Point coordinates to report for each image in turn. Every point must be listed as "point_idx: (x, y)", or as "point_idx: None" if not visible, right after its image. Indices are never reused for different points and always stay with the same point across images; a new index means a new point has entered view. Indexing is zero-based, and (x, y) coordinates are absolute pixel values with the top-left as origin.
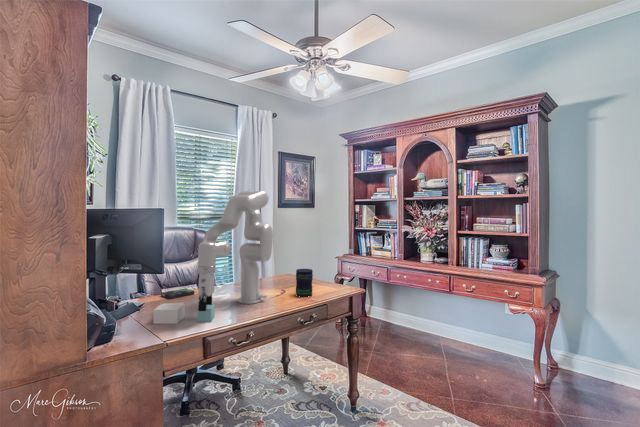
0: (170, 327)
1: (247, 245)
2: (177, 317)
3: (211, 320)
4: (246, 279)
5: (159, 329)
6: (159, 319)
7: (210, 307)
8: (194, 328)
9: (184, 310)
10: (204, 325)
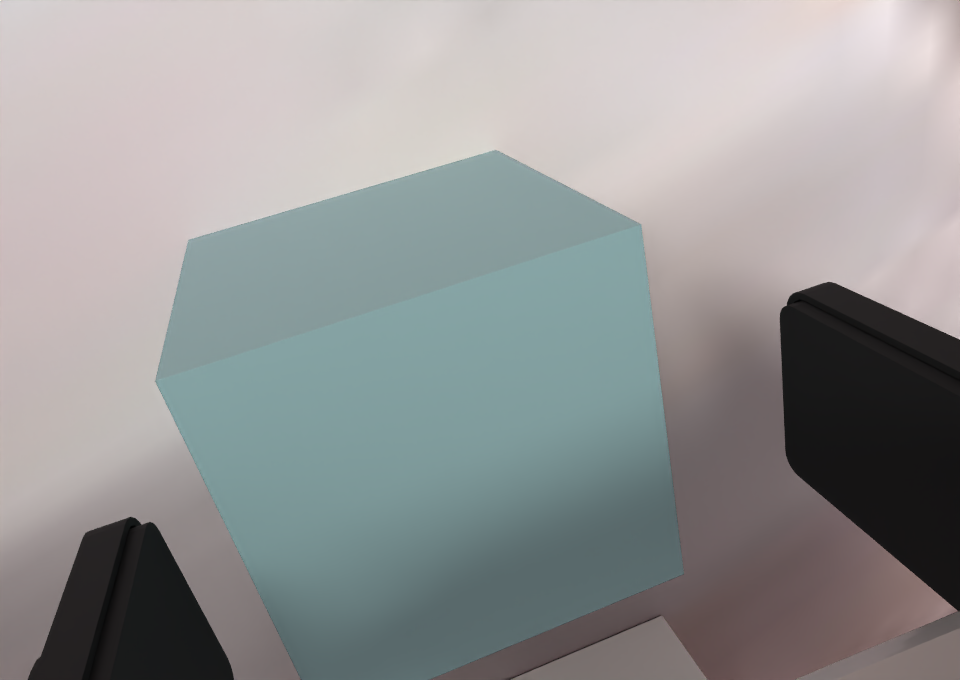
0: (804, 580)
1: None
2: None
3: (485, 160)
4: None
5: (866, 632)
6: None
7: (528, 327)
8: (847, 255)
9: None
10: (706, 172)
